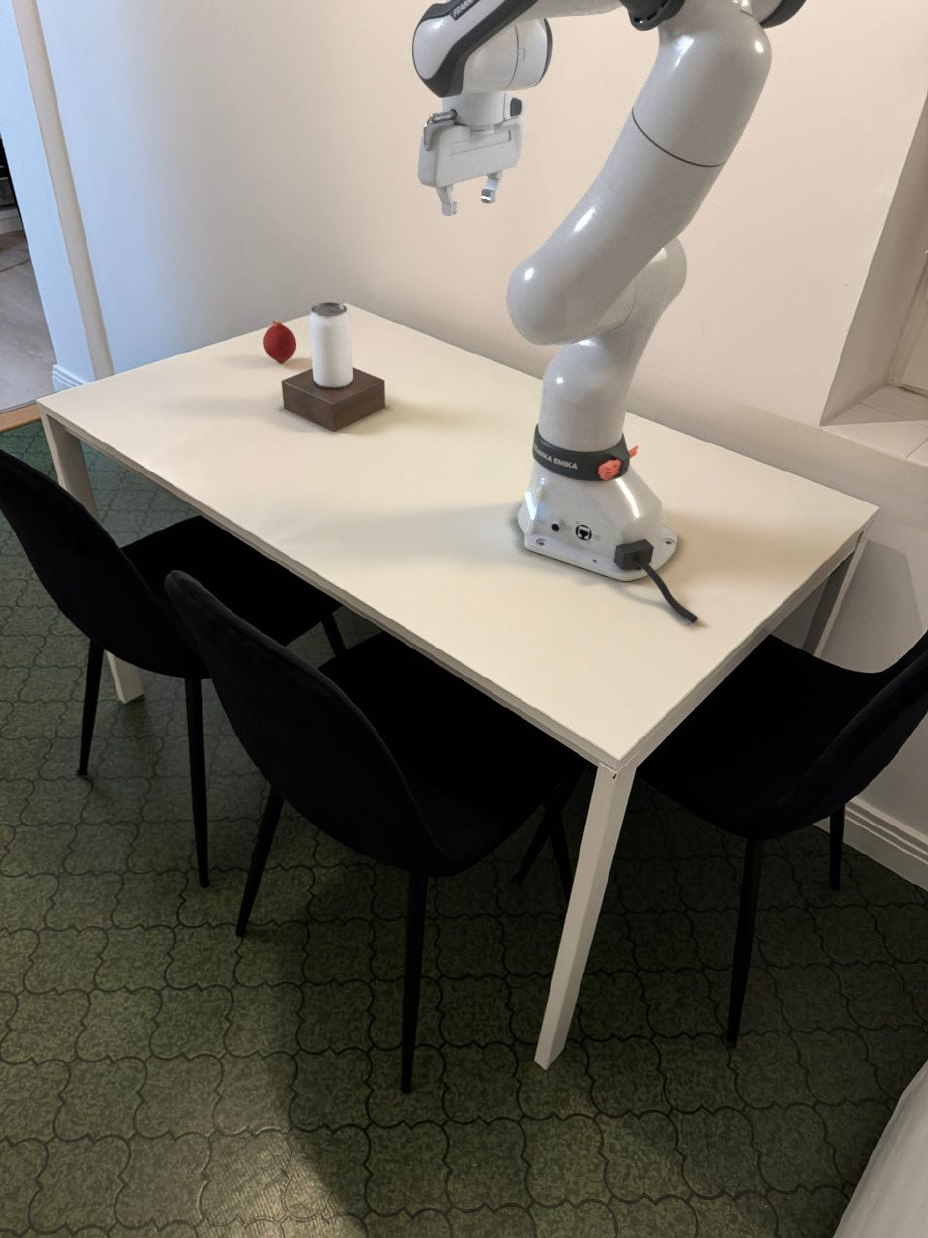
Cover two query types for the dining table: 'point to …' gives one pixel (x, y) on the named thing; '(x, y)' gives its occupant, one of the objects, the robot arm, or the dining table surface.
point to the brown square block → (333, 399)
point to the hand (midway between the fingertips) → (469, 208)
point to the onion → (279, 342)
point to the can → (331, 345)
